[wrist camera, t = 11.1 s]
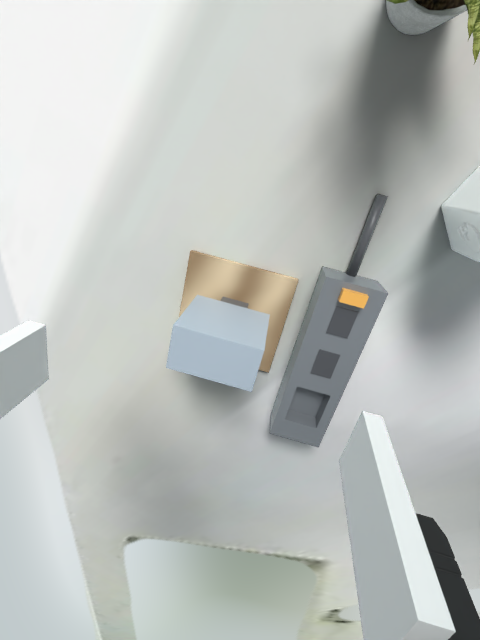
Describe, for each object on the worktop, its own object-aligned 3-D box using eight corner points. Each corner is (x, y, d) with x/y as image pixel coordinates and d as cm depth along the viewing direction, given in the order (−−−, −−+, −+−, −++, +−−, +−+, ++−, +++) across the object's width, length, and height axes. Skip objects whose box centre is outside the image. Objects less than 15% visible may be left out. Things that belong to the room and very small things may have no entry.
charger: (201, 288, 37) (173, 325, 28) (270, 307, 37) (264, 350, 28) (195, 323, 39) (166, 367, 30) (260, 341, 39) (251, 391, 30)
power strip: (350, 186, 32) (359, 188, 27) (412, 202, 31) (431, 206, 27) (271, 411, 43) (269, 438, 39) (316, 424, 43) (318, 452, 39)
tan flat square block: (298, 278, 36) (298, 280, 35) (268, 369, 41) (268, 372, 40) (191, 250, 36) (190, 251, 36) (175, 343, 41) (173, 345, 41)
